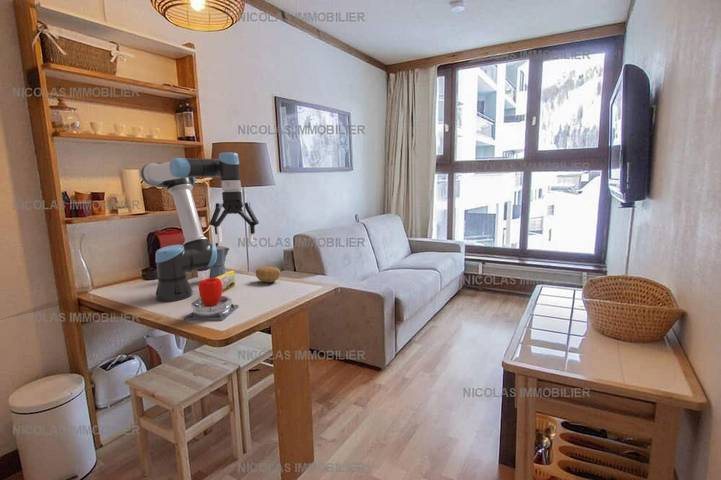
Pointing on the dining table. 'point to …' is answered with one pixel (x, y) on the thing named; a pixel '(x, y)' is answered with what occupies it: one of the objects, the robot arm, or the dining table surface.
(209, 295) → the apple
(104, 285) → the dining table surface
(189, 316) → the rosette stand
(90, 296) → the dining table surface
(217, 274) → the moka pot
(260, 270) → the potato
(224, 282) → the candy box
